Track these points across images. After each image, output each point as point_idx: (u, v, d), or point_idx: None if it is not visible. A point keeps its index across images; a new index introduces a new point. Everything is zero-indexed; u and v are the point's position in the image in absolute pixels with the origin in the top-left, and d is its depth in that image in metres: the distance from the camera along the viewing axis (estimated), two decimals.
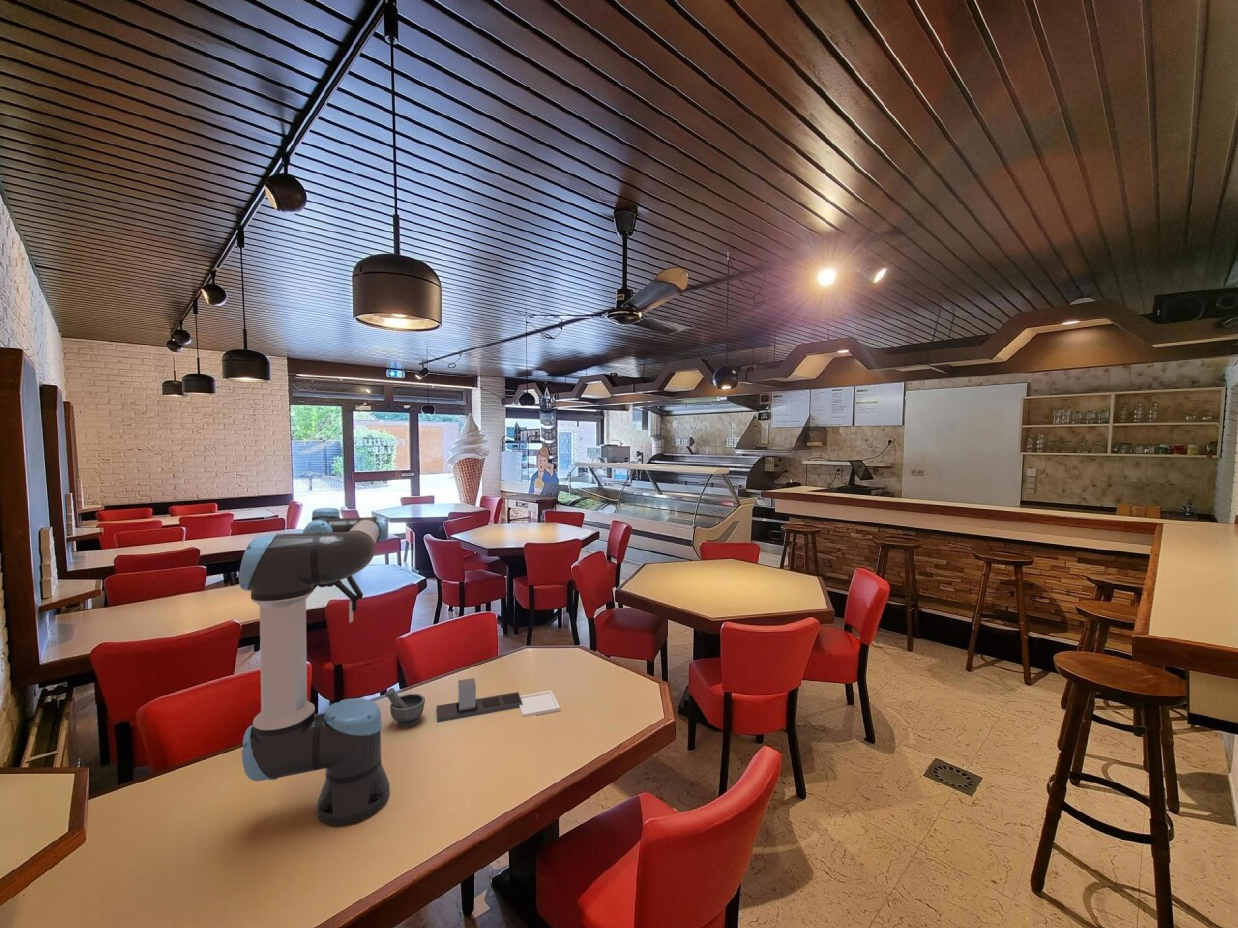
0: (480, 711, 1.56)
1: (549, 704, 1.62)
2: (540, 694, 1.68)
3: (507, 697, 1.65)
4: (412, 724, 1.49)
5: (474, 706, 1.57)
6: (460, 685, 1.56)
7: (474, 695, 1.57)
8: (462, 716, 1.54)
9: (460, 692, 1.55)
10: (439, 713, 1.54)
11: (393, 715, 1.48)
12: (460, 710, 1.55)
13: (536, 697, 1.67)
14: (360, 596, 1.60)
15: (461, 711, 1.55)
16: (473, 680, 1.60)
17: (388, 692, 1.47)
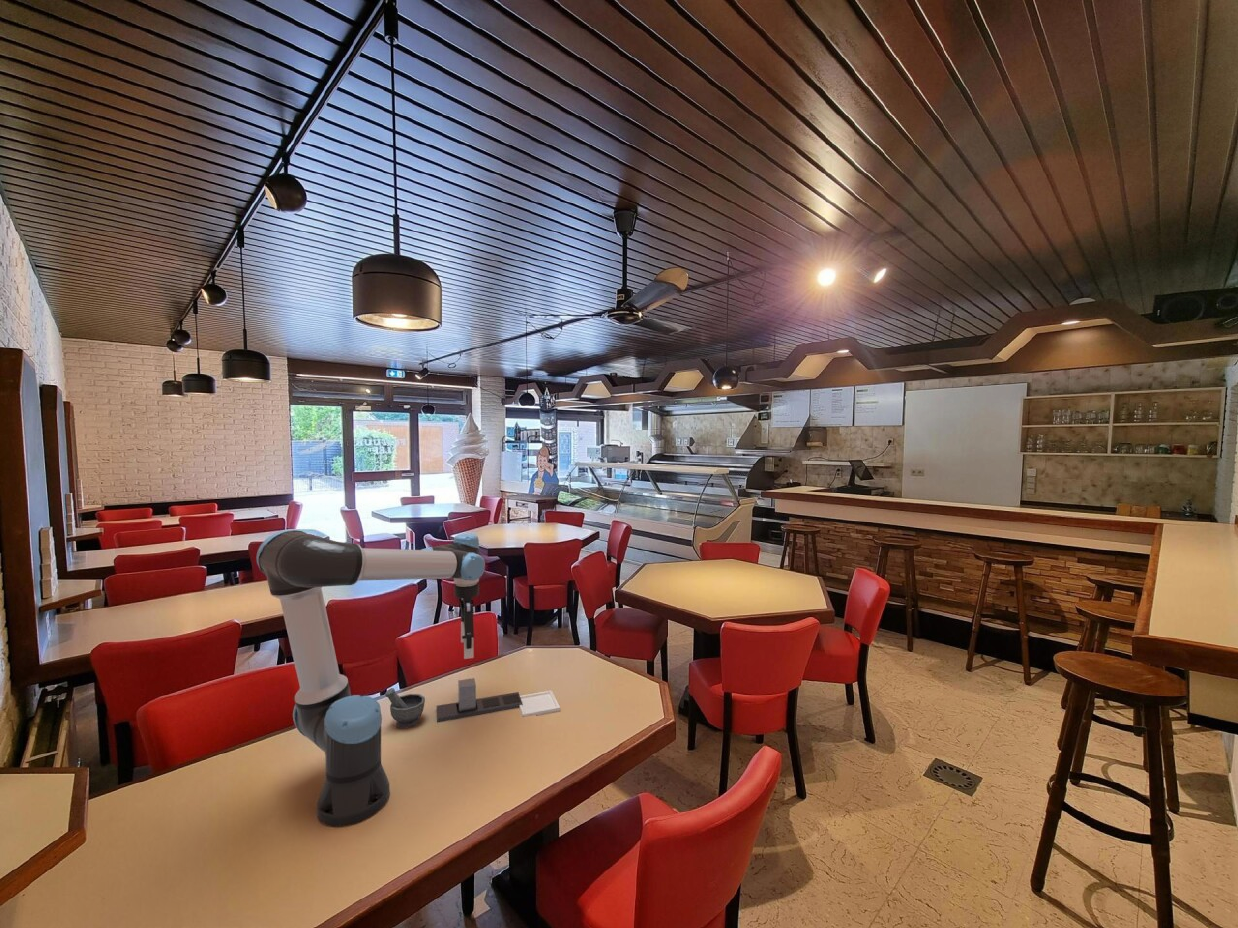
0: (480, 711, 1.56)
1: (549, 704, 1.62)
2: (540, 694, 1.68)
3: (507, 697, 1.65)
4: (412, 724, 1.49)
5: (474, 706, 1.57)
6: (460, 685, 1.56)
7: (474, 695, 1.57)
8: (462, 716, 1.54)
9: (460, 692, 1.55)
10: (439, 713, 1.54)
11: (393, 715, 1.48)
12: (460, 710, 1.55)
13: (536, 697, 1.67)
14: (465, 635, 1.48)
15: (461, 711, 1.55)
16: (473, 680, 1.60)
17: (388, 692, 1.47)
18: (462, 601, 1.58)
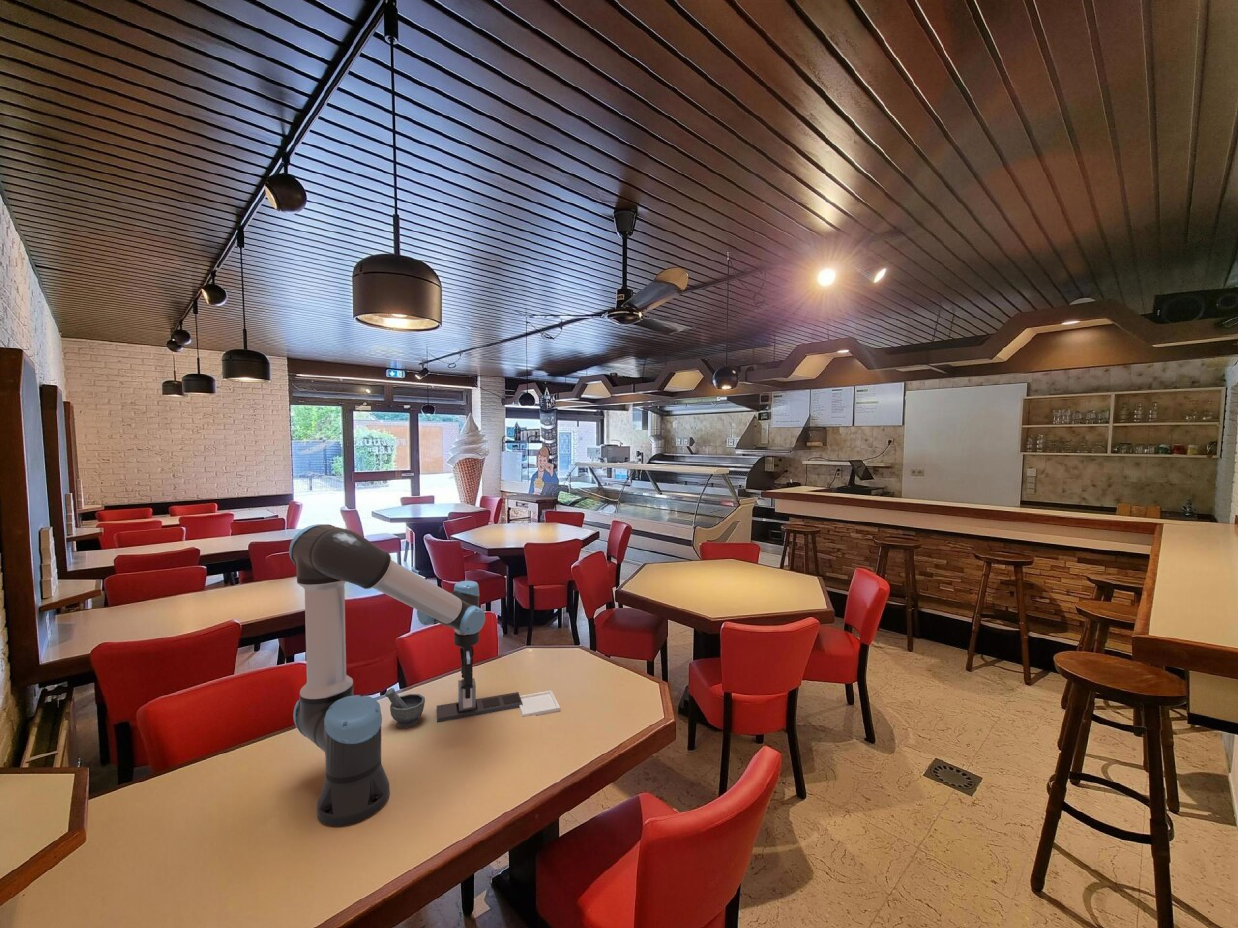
0: (480, 711, 1.56)
1: (549, 704, 1.62)
2: (540, 694, 1.68)
3: (507, 697, 1.65)
4: (412, 724, 1.49)
5: (474, 706, 1.57)
6: (460, 685, 1.56)
7: (474, 695, 1.57)
8: (462, 716, 1.54)
9: (460, 692, 1.55)
10: (439, 713, 1.54)
11: (393, 715, 1.48)
12: (460, 710, 1.55)
13: (536, 697, 1.67)
14: (464, 686, 1.52)
15: (461, 711, 1.55)
16: (473, 680, 1.60)
17: (388, 692, 1.47)
18: (462, 648, 1.58)
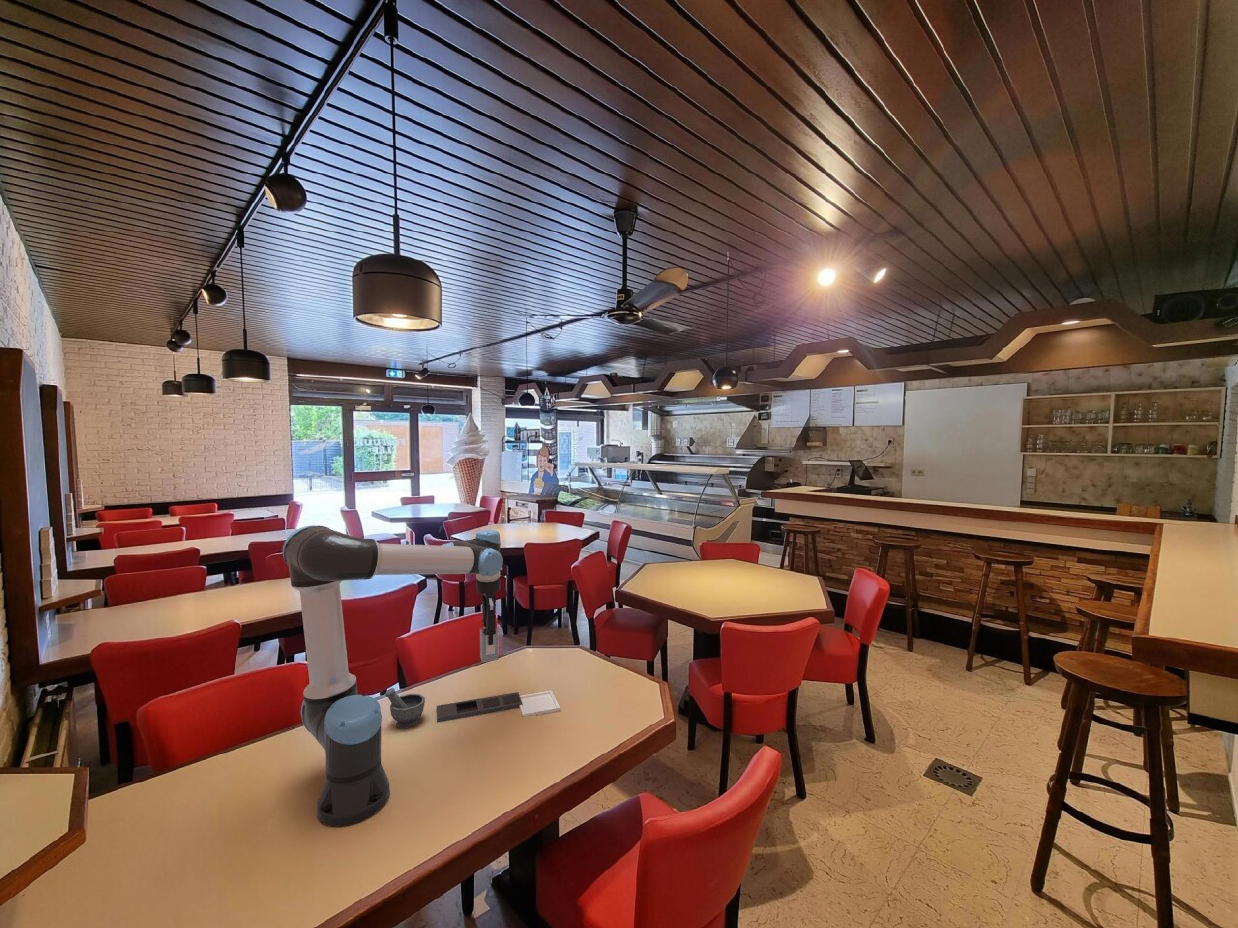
0: (480, 711, 1.56)
1: (549, 704, 1.62)
2: (540, 694, 1.68)
3: (507, 697, 1.65)
4: (412, 724, 1.49)
5: (497, 653, 1.58)
6: (483, 632, 1.57)
7: (496, 642, 1.58)
8: (462, 716, 1.54)
9: (483, 639, 1.56)
10: (439, 713, 1.54)
11: (393, 715, 1.48)
12: (483, 657, 1.56)
13: (536, 697, 1.67)
14: (487, 632, 1.53)
15: (484, 658, 1.56)
16: None
17: (388, 692, 1.47)
18: (484, 596, 1.59)
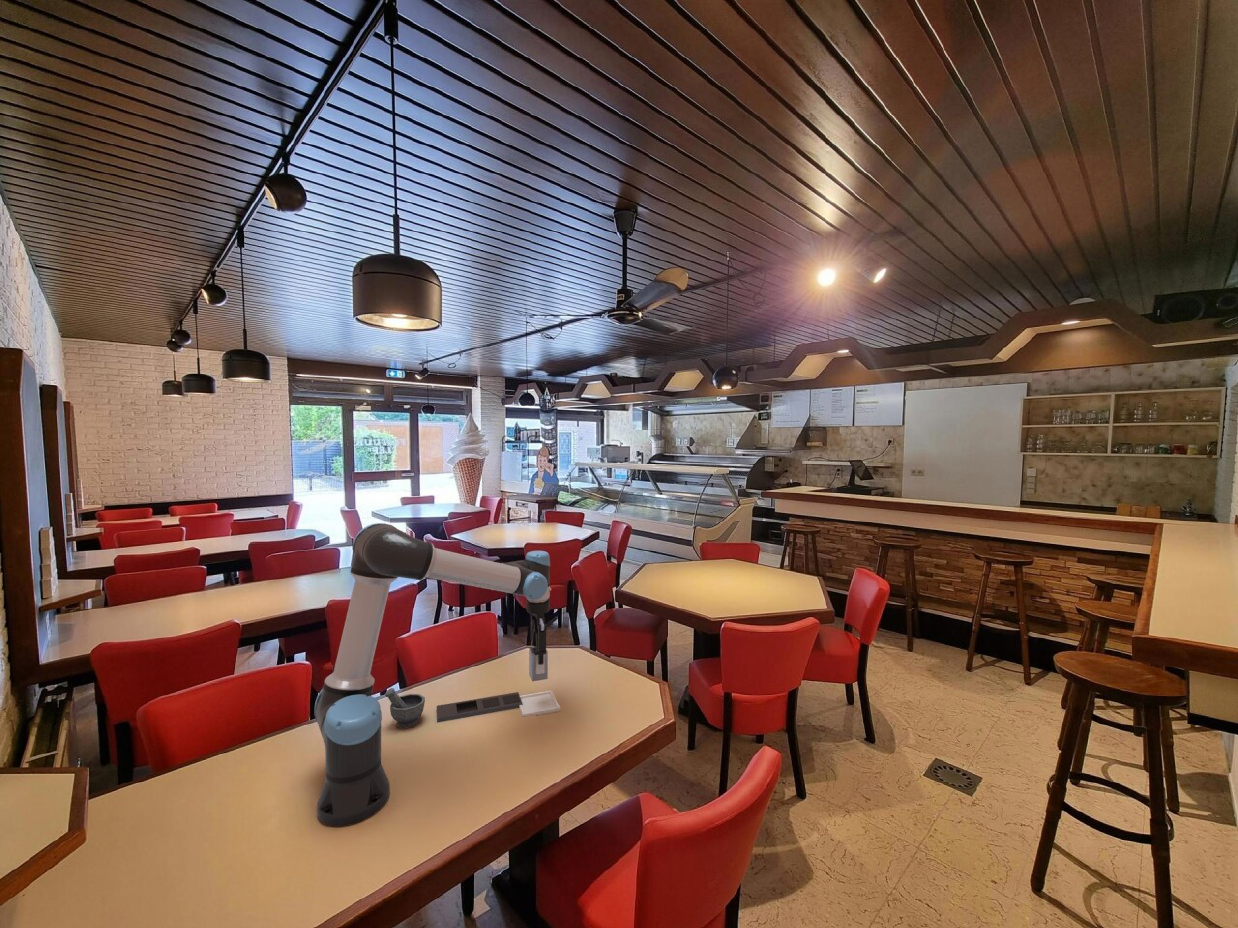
0: (480, 711, 1.56)
1: (549, 704, 1.62)
2: (540, 694, 1.68)
3: (507, 697, 1.65)
4: (412, 724, 1.49)
5: (546, 672, 1.61)
6: (533, 651, 1.60)
7: (546, 661, 1.61)
8: (462, 716, 1.54)
9: (533, 658, 1.59)
10: (439, 713, 1.54)
11: (393, 715, 1.48)
12: (533, 676, 1.59)
13: (536, 697, 1.67)
14: (538, 652, 1.56)
15: (534, 677, 1.59)
16: None
17: (388, 692, 1.47)
18: (533, 616, 1.62)
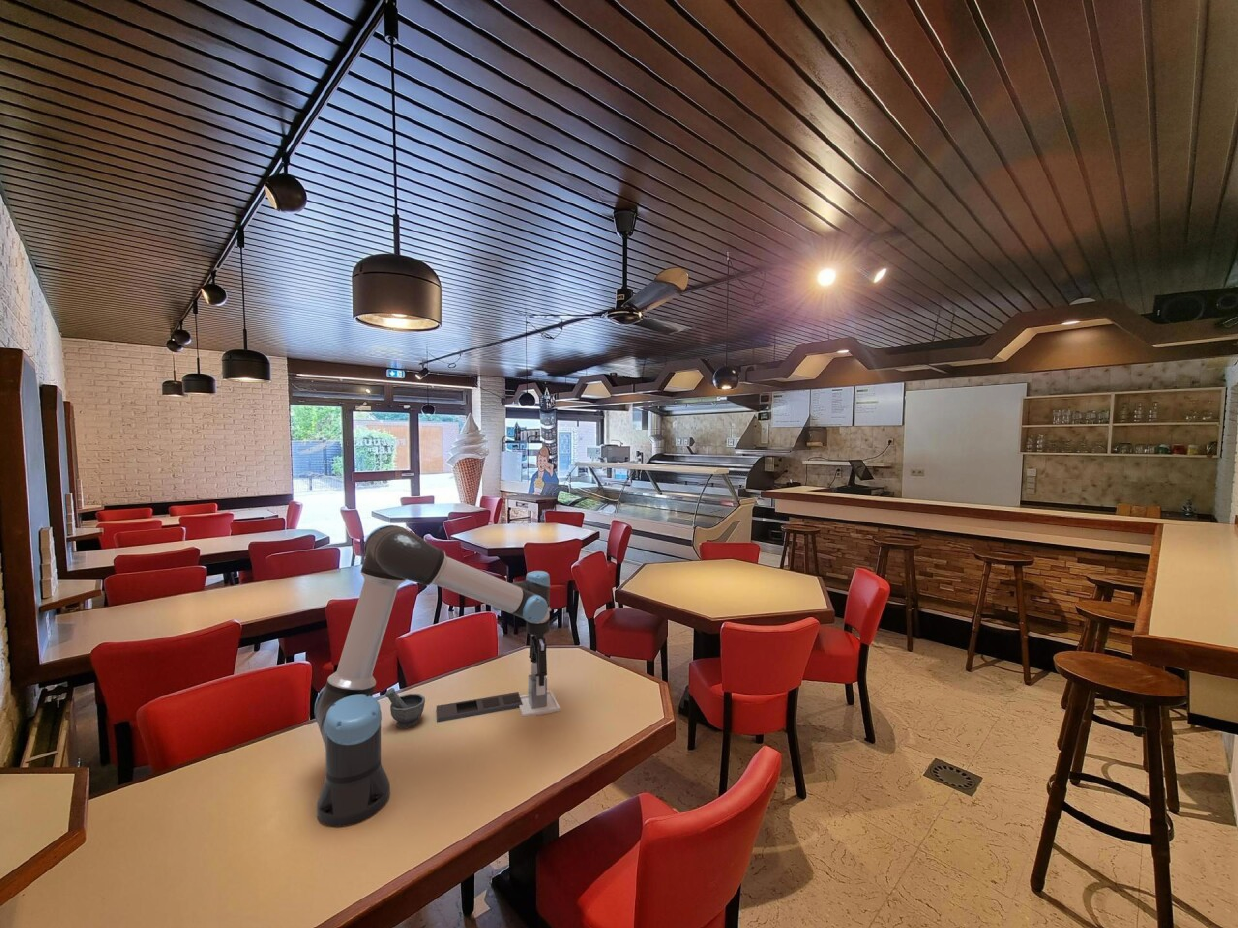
0: (480, 711, 1.56)
1: (549, 704, 1.62)
2: None
3: (507, 697, 1.65)
4: (412, 724, 1.49)
5: (545, 700, 1.61)
6: (532, 679, 1.61)
7: (545, 689, 1.61)
8: (462, 716, 1.54)
9: (532, 686, 1.59)
10: (439, 713, 1.54)
11: (393, 715, 1.48)
12: (532, 703, 1.60)
13: None
14: (538, 674, 1.55)
15: (533, 704, 1.60)
16: None
17: (388, 692, 1.47)
18: (533, 636, 1.62)
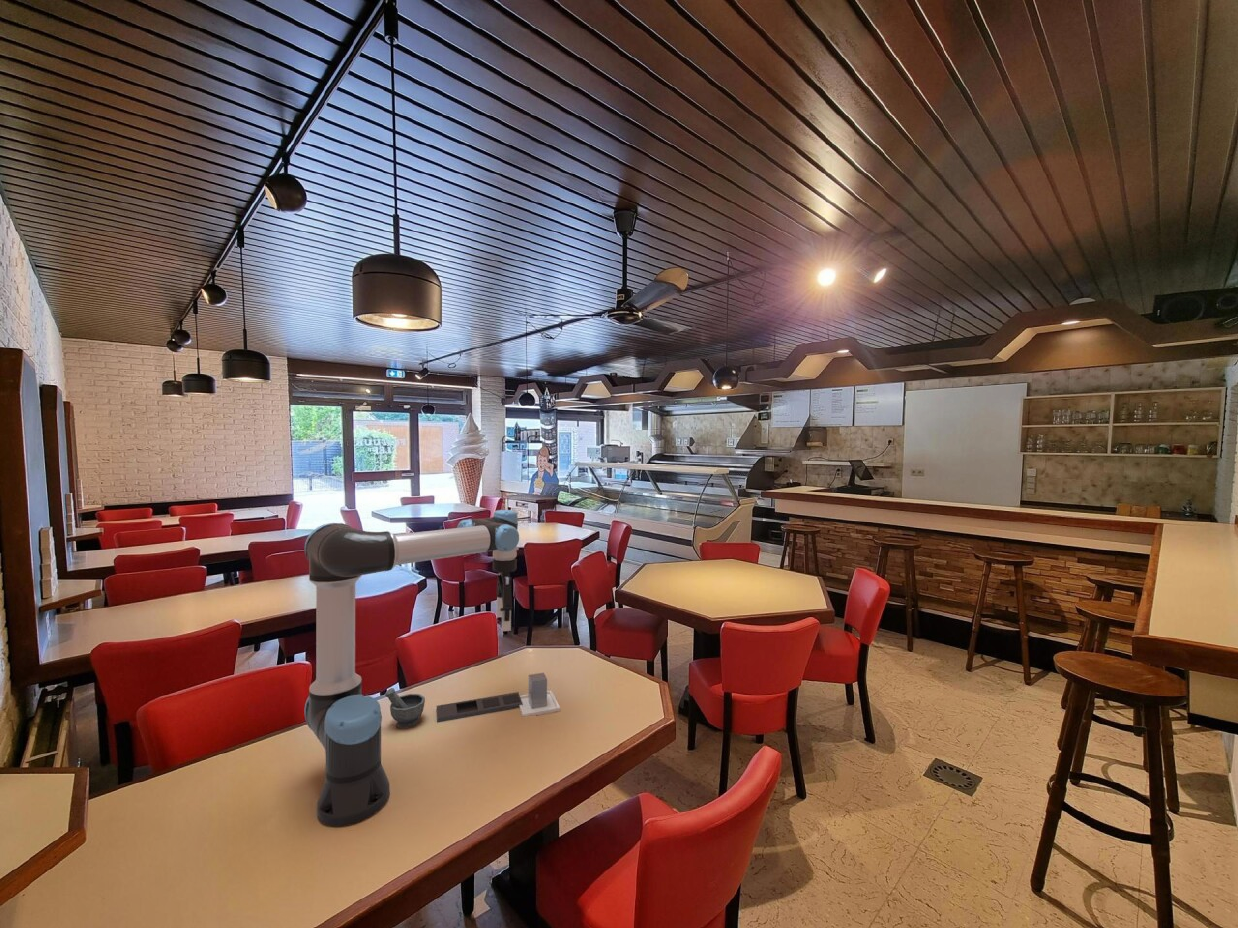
0: (480, 711, 1.56)
1: (549, 704, 1.62)
2: None
3: (507, 697, 1.65)
4: (412, 724, 1.49)
5: (545, 700, 1.61)
6: (532, 679, 1.61)
7: (545, 689, 1.61)
8: (462, 716, 1.54)
9: (532, 686, 1.59)
10: (439, 713, 1.54)
11: (393, 715, 1.48)
12: (532, 703, 1.60)
13: None
14: (503, 607, 1.51)
15: (533, 704, 1.60)
16: (543, 674, 1.64)
17: (388, 692, 1.47)
18: (500, 576, 1.61)
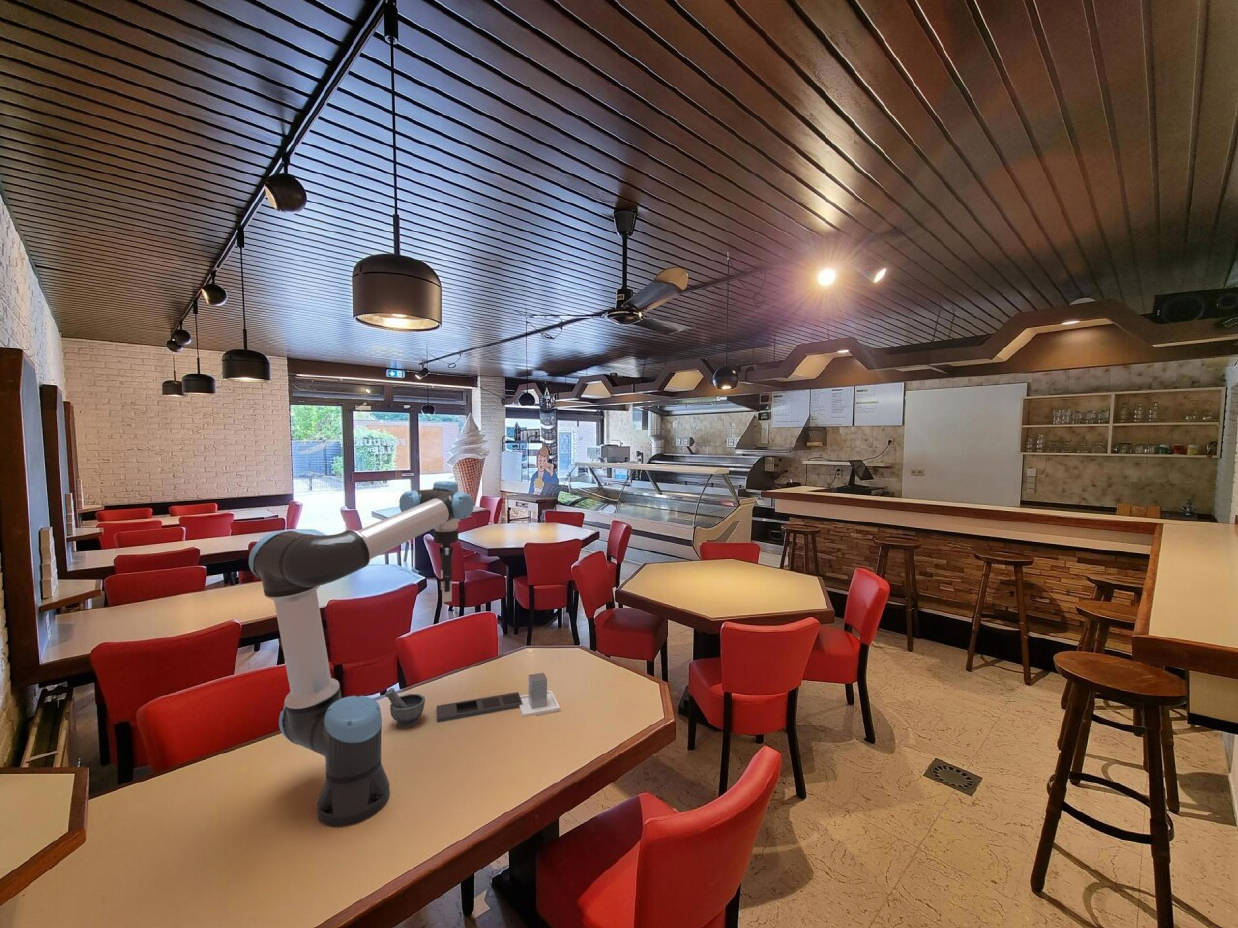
0: (480, 711, 1.56)
1: (549, 704, 1.62)
2: None
3: (507, 697, 1.65)
4: (412, 724, 1.49)
5: (545, 700, 1.61)
6: (532, 679, 1.61)
7: (545, 689, 1.61)
8: (462, 716, 1.54)
9: (532, 686, 1.59)
10: (439, 713, 1.54)
11: (393, 715, 1.48)
12: (532, 703, 1.60)
13: None
14: (443, 578, 1.50)
15: (533, 704, 1.60)
16: (543, 674, 1.64)
17: (388, 692, 1.47)
18: (441, 547, 1.60)
